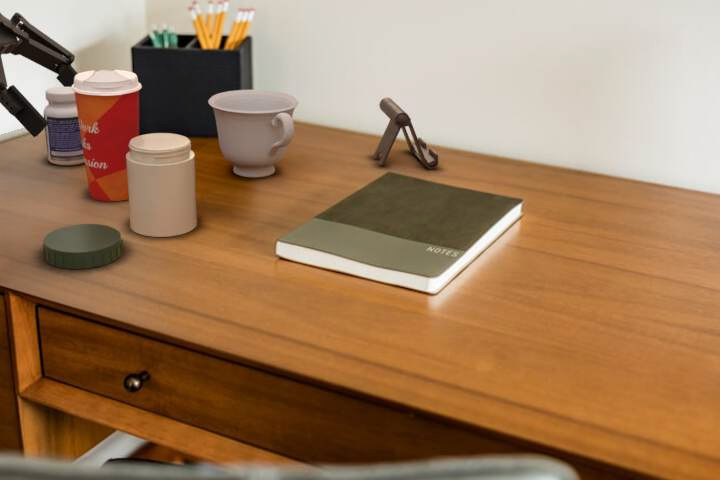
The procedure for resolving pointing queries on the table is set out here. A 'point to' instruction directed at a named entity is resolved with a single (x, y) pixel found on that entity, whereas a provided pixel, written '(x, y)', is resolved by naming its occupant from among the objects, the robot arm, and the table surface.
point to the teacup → (254, 128)
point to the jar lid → (82, 246)
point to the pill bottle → (63, 127)
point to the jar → (161, 185)
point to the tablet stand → (395, 124)
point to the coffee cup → (107, 128)
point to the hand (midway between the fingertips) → (69, 117)
